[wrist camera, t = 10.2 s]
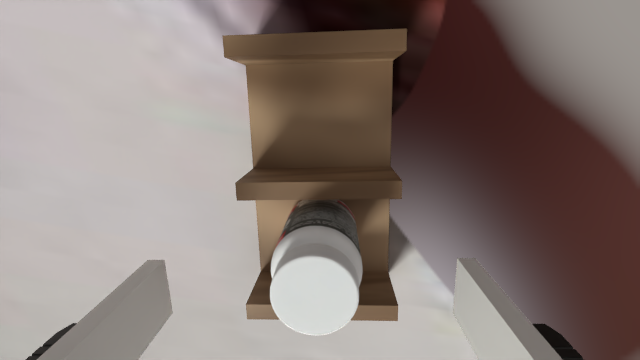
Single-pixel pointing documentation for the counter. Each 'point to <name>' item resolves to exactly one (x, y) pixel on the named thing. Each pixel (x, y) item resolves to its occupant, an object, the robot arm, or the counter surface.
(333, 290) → the pill bottle
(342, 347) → the counter surface
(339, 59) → the rack
